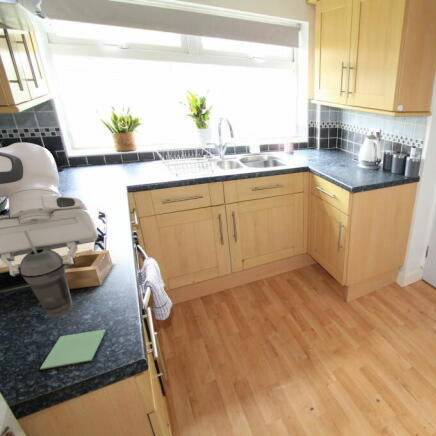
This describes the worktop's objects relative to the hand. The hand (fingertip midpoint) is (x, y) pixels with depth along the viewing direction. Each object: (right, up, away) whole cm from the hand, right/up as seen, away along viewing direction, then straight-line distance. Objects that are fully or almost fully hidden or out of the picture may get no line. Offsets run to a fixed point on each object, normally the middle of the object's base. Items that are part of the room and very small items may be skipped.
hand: (43, 269), depth 67 cm
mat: (-1, -21, +10) cm, 23 cm away
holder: (-19, -8, +36) cm, 42 cm away
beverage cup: (-1, -10, +5) cm, 12 cm away
